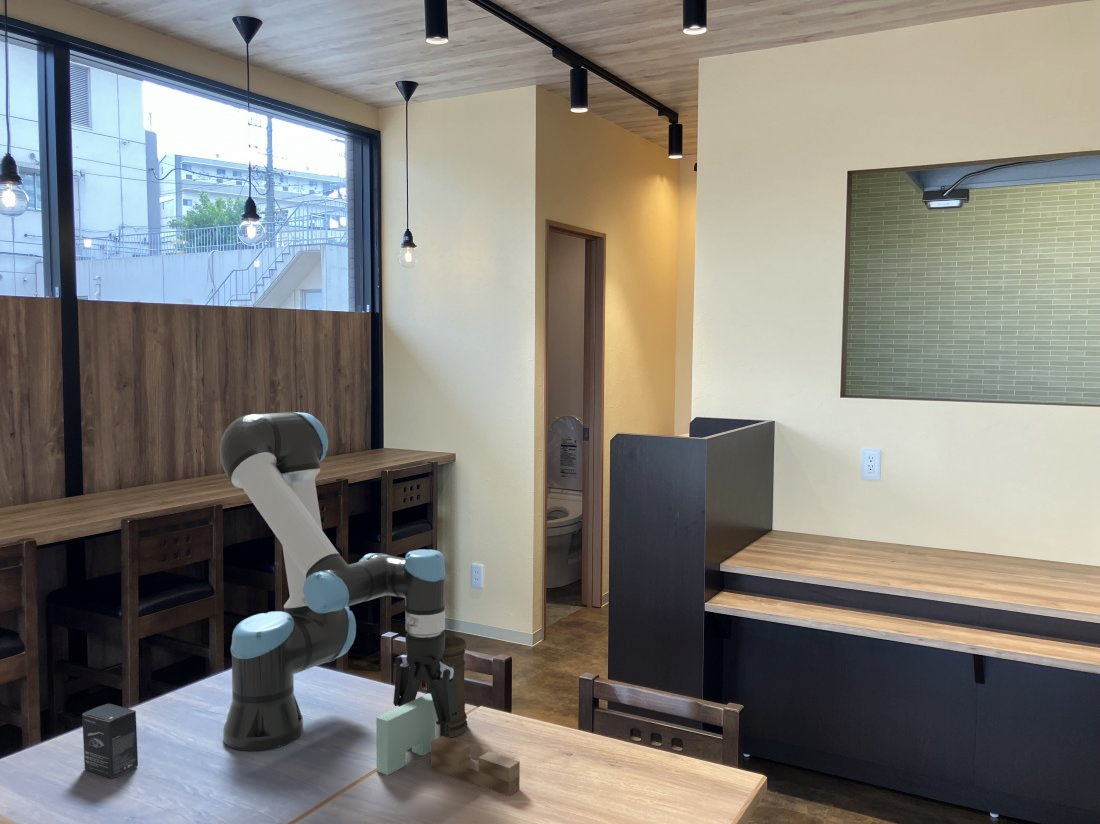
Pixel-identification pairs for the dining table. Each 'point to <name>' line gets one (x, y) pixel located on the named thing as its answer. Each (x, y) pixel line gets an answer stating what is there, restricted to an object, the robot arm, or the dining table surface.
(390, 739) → the plate
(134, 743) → the box
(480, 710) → the dining table surface
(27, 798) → the dining table surface
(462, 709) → the container
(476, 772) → the slotted rail
